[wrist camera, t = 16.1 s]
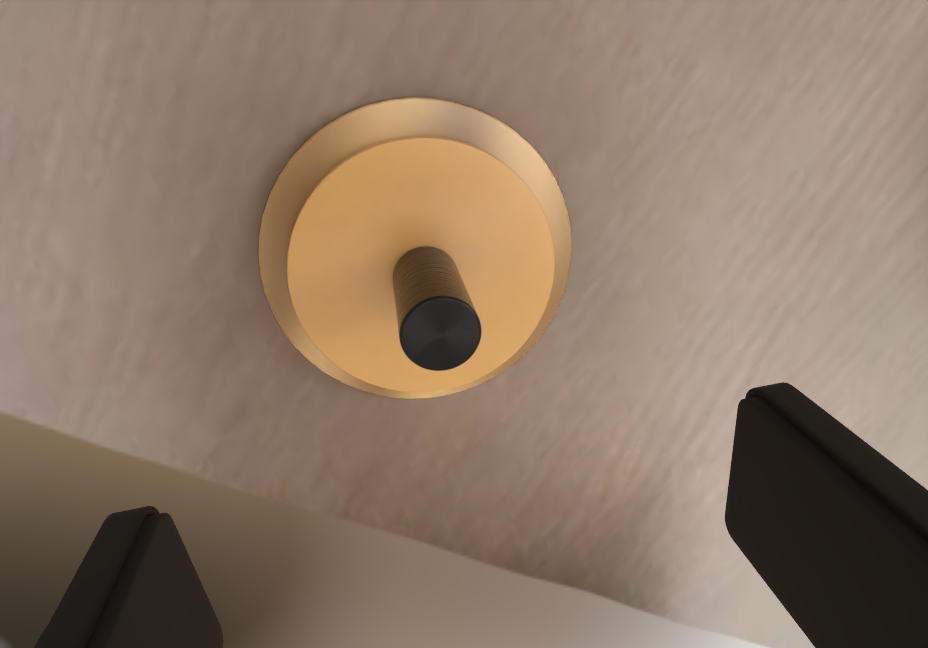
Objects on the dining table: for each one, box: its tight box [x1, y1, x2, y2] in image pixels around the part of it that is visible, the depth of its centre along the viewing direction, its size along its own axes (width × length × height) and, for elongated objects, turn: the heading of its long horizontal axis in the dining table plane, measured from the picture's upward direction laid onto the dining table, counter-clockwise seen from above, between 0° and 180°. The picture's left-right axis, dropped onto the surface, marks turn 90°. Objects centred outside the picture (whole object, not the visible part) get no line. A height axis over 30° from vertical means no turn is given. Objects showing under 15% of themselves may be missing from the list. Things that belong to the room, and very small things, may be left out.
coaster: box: [258, 97, 572, 399], centre depth 22 cm, size 12×12×1 cm
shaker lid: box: [287, 136, 555, 392], centre depth 19 cm, size 10×10×6 cm
